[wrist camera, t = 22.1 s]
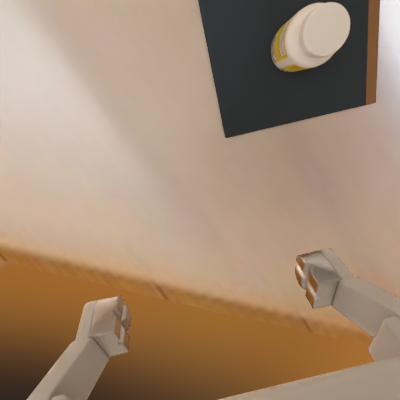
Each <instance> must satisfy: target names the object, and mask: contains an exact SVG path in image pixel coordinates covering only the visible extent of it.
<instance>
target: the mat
mask: <svg viewBox="0 0 400 400" xmlns="http://www.w3.org/2000/svg"><path fill="white" fill-rule="evenodd" d="M198 1H199V6H200V11H201V16H202V22H203V27H204V32H205V37H206V42H207V47H208V52H209V57H210V62H211V67H212V72H213V77H214V82H215V87H216V92H217V97H218V102H219V107H220V112H221V117H222V122H223V127H224V132H225V137H226V138H228V137H232V136H236V135H240V134H245V133H249V132H253V131H257V130H262V129H266V128H270V127H274V126H278V125H283V124H287V123H291V122H295V121H300V120H304V119H308V118H312V117H316V116H321V115H325V114H329V113H333V112H338V111H342V110H346V109H350V108H354V107H359V106H363V105H367V104H372V103H375V102H376V80H377V56H378V32H379V8H380V0H198ZM328 2H335V3H339V4H341V5H342V6H343V7H344V8H345V9H346V10H347V12H348V14H349V17H350V30H349V34H348V37H347V39H346V41H345V42H344V44H343V45H342V46H341V47H340V48H339V49H338V50H337V51H336V52H335V53H334V54H333V55H332V57H331V58H330V59H329V60H327V61H326V62H325V63H323V64H321V65H319V66H317V67H314V68H309V69H305V70H300V71H296V72H286V71H283V70H281V69H279V68H278V67H277V66H276V65H275V63H274V62H273V59H272V56H271V45H272V41H273V38H274V36H275V34H276V33H277V32H278V30H279V29H280V28H281V27H282V26H283V25H284V24H285V23H286V22H287V21H289V20H290V19H291V18H292V17H293V16H294V15H295V14H296V13H297V12H299V11H300V10H301V9H303V8H304V7H306V6H308V5H310V4H314V3H328Z"/></svg>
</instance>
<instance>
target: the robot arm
mask: <svg viewBox="0 0 400 400" xmlns="http://www.w3.org/2000/svg"><path fill="white" fill-rule="evenodd" d="M296 261H297V263H298V265H297V266H296V267H295V274H296V278H297V280H298V283H299V284H300V286H301V287H302V288H303V289H305V290H306V297H307V299H308V301H309V302H310V304H311V306H312V308H313V309H315V308H320V307H325V306H330V305H332V307H334V308H335V309H336V310H338V311H339V312H340V313H342V314H343V315H344V316H346V317H347V318H348V319H350V320H351V321H352V322H354V323H355V324H356V325H358V326H359V327H360V328H362V329H363V330H364V331H366V332H367V333H368V334H370V335H371V336H372V337H374V339H373V341H372V342H371V344H370V346H369V349H368V351H369V352H370V354H371V355H372V357H373V359H374V360H375V362H372V363H368V364H363V365H359V366H355V367H351V368H347V369H343V370H339V371H335V372H330V373H326V374H322V375H318V376H314V377H309V378H306V379H301V380H297V381H293V382H289V383H285V384H280V385H276V386H272V387H268V388H264V389H260V390H255V391H252V392H247V393H243V394H239V395H235V396H231V397H226V398H223V399H218V400H400V298H398V297H396V296H395V295H393V294H391V293H389V292H387V291H385V290H383V289H381V288H379V287H377V286H375V285H373V284H372V283H370V282H368V281H366V280H364V279H362V278H360V277H354V276H353V274H352V273H351V272H350V271H349V269H348V268H347V267H346V266H345V264H344V263H343V262H342V261H341V259H340V258H339V257H338V256H337V254H336V253H335V252H334V251H333V250H332V249H331V248H328V249H324V250H320V251H314V252H310V253H306V254H302V255H298V256H297V259H296ZM130 326H131V315H130V310H129V307H128V306H127V305H126V304H124V299H123V298H122V296H117V297H111V298H107V299H102V300H96V301H92V302H87V303H86V304H85V306H84V308H83V312H82V316H81V320H80V324H79V328H78V332H77V336H76V340H75V341H74V342H71V344H70V345H69V346H68V348H67V349H66V350H65V352H64V353H63V354H62V355H61V357H60V358H59V359H58V360H57V362H56V363H55V364H54V365H53V367H52V368H51V369H50V371H49V372H48V373H47V374H46V376H45V377H44V378H43V379H42V381H41V382H40V383H39V385H38V386H37V387H36V388H35V390H34V391H33V392H32V394H31V395H30V396H29V398H28V399H27V400H87V398H88V396H89V394H90V392H91V391H92V389H93V387H94V385H95V384H96V382H97V380H98V378H99V376H100V374H101V373H102V370H103V369H104V367H105V365H106V363H107V362H108V360H109V357H110V356H114V355H118V354H122V353H125V352H128V351H129V339H130V336H129V334H128V333H127V330H128V329H129V327H130Z"/></svg>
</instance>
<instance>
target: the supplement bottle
mask: <svg viewBox="0 0 400 400" xmlns="http://www.w3.org/2000/svg"><path fill="white" fill-rule="evenodd" d="M349 30H350V17H349V14H348V12H347V10H346V9H345V8H344V7H343V6H342V5H341V4H339V3H335V2H328V3H314V4H310V5H308V6H306V7H304V8H303V9H301V10H300V11H299V12H297V13H296V14H295V15H294V16H293V17H292V18H291V19H290V20H289V21H287V22H286V23H285V24H284V25H283V26H282V27H281V28H280V29H279V30H278V32H277V33H276V34H275V36H274V38H273V41H272V45H271V56H272V59H273V62H274V63H275V65H276V66H277V67H278V68H279V69H281V70H283V71H286V72H296V71H300V70H305V69H309V68H314V67H317V66H319V65H321V64H323V63H325V62H326V61H327V60H329V59H330V58H331V57H332V55H333V54H334V53H335V52H336V51H337V50H338V49H339V48H340V47H341V46H342V45H343V44H344V42H345V41H346V39H347V37H348V34H349Z"/></svg>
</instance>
